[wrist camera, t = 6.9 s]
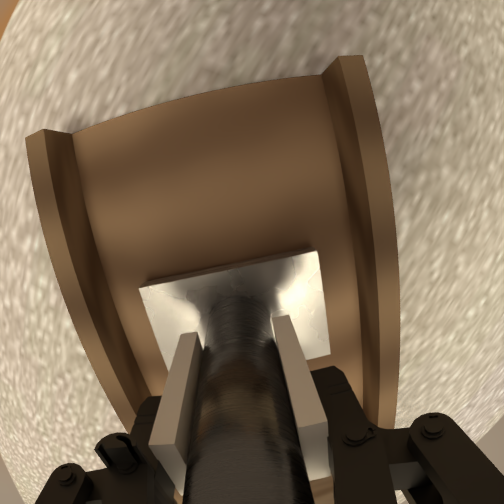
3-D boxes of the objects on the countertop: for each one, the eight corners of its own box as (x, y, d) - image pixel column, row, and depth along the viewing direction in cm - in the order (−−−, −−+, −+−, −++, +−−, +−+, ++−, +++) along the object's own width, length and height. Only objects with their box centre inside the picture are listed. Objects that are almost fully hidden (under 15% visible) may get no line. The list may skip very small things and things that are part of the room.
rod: (143, 281, 16) (-8, 509, 3) (312, 246, 16) (508, 455, 3) (182, 389, 18) (145, 606, 4) (327, 361, 18) (422, 571, 4)
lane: (64, 142, 16) (0, 135, 10) (335, 78, 16) (380, 40, 10) (197, 491, 23) (194, 543, 17) (369, 458, 23) (391, 508, 17)
